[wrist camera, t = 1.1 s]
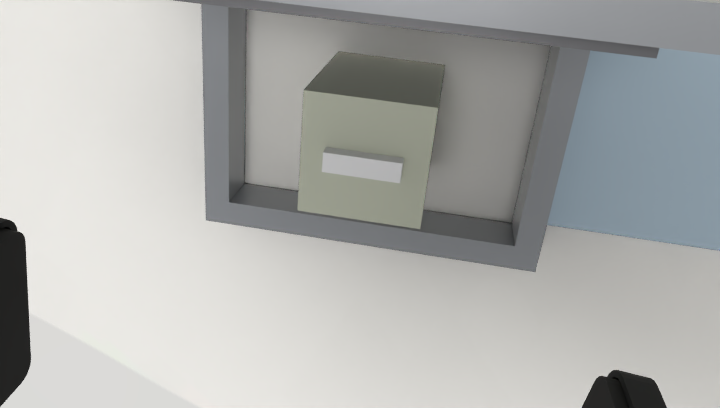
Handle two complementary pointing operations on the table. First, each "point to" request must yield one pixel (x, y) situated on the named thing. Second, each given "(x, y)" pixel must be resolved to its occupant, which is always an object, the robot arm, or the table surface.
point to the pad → (645, 150)
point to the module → (369, 138)
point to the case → (454, 16)
